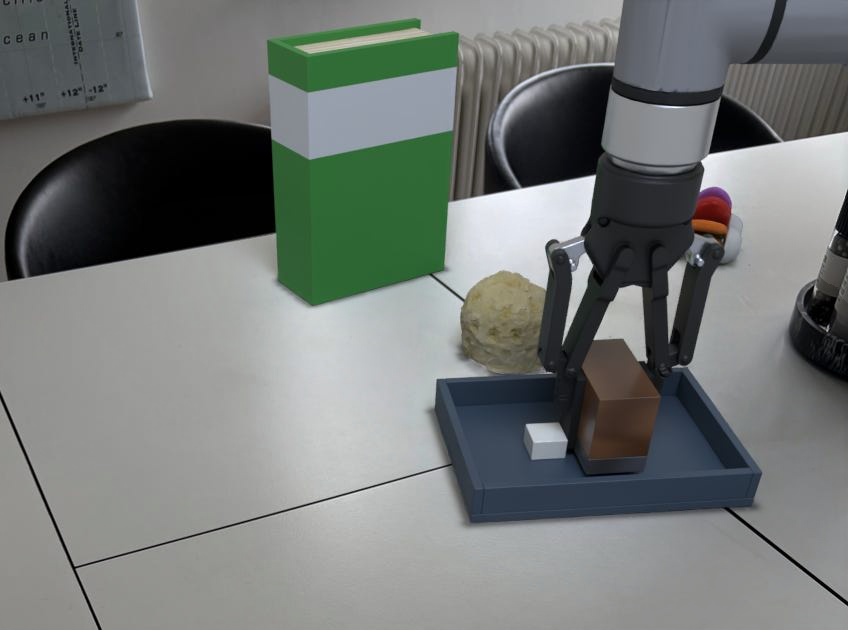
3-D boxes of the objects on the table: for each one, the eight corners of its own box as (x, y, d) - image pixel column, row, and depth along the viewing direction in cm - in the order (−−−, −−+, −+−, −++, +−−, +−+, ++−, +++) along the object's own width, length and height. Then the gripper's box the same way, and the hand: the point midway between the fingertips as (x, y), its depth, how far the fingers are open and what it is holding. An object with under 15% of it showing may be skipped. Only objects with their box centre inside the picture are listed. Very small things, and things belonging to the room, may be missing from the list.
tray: (679, 398, 98) (687, 366, 96) (752, 506, 86) (763, 472, 83) (434, 410, 96) (436, 378, 94) (470, 523, 83) (474, 489, 81)
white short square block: (556, 439, 91) (559, 421, 90) (565, 458, 89) (568, 440, 88) (523, 441, 91) (525, 423, 90) (531, 460, 89) (533, 442, 88)
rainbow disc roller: (660, 263, 121) (673, 199, 117) (667, 232, 128) (680, 171, 123) (734, 273, 120) (751, 209, 115) (738, 241, 127) (754, 179, 122)
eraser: (609, 410, 94) (623, 338, 89) (644, 471, 87) (661, 396, 82) (555, 413, 93) (566, 340, 89) (585, 475, 86) (599, 399, 81)
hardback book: (406, 247, 124) (415, 17, 107) (444, 269, 119) (459, 33, 103) (278, 281, 116) (266, 39, 100) (312, 305, 112) (306, 57, 96)
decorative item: (547, 396, 106) (583, 300, 104) (516, 374, 97) (555, 269, 95) (465, 372, 110) (499, 278, 108) (429, 348, 101) (465, 246, 99)
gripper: (753, 136, 78) (684, 411, 93) (516, 141, 76) (487, 421, 92) (795, 171, 72) (714, 457, 88) (541, 177, 70) (505, 468, 86)
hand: (598, 438), depth 90 cm, fingers closed on eraser, 5 cm apart
